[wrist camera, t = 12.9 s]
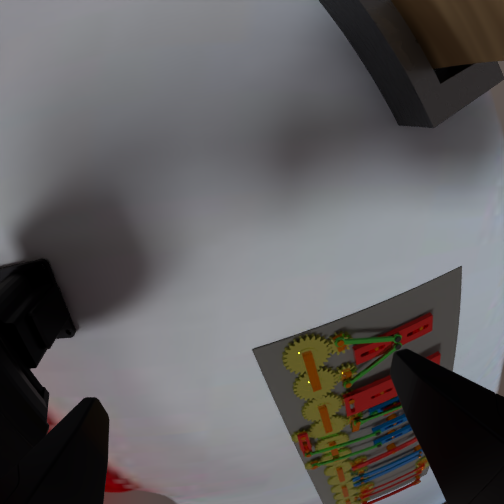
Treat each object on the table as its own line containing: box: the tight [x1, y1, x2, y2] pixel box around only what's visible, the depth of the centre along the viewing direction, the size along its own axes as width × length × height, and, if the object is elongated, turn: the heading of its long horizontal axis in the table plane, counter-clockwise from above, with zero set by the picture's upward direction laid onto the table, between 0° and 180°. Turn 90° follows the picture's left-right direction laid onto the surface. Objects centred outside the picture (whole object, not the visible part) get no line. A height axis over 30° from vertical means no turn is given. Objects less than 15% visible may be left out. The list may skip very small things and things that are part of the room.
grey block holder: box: [319, 0, 504, 128], centre depth 14 cm, size 9×11×4 cm
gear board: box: [252, 266, 462, 504], centre depth 32 cm, size 45×2×19 cm
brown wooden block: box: [391, 0, 504, 69], centre depth 10 cm, size 3×5×13 cm, turn 34°
